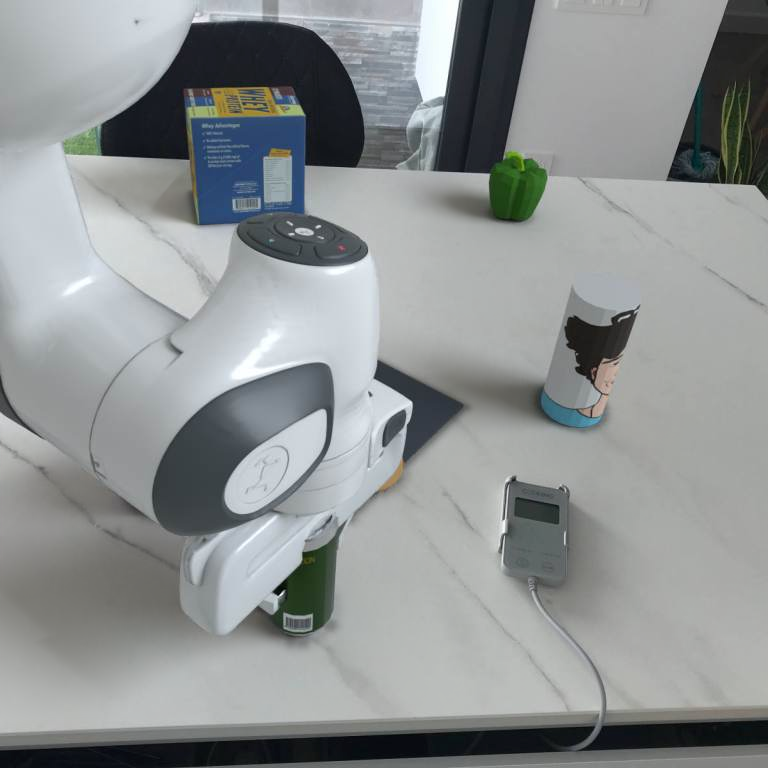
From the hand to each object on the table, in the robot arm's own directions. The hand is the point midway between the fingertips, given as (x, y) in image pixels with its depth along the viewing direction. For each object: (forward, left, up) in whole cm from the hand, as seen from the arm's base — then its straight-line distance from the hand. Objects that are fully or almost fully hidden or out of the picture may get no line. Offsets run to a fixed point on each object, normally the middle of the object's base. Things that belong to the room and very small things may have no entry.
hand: (300, 574), depth 59 cm
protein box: (+47, +51, -5) cm, 69 cm away
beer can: (0, 0, -5) cm, 5 cm away
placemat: (+20, +12, -5) cm, 24 cm away
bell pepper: (+73, +21, -5) cm, 76 cm away
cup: (+38, -6, -5) cm, 39 cm away
